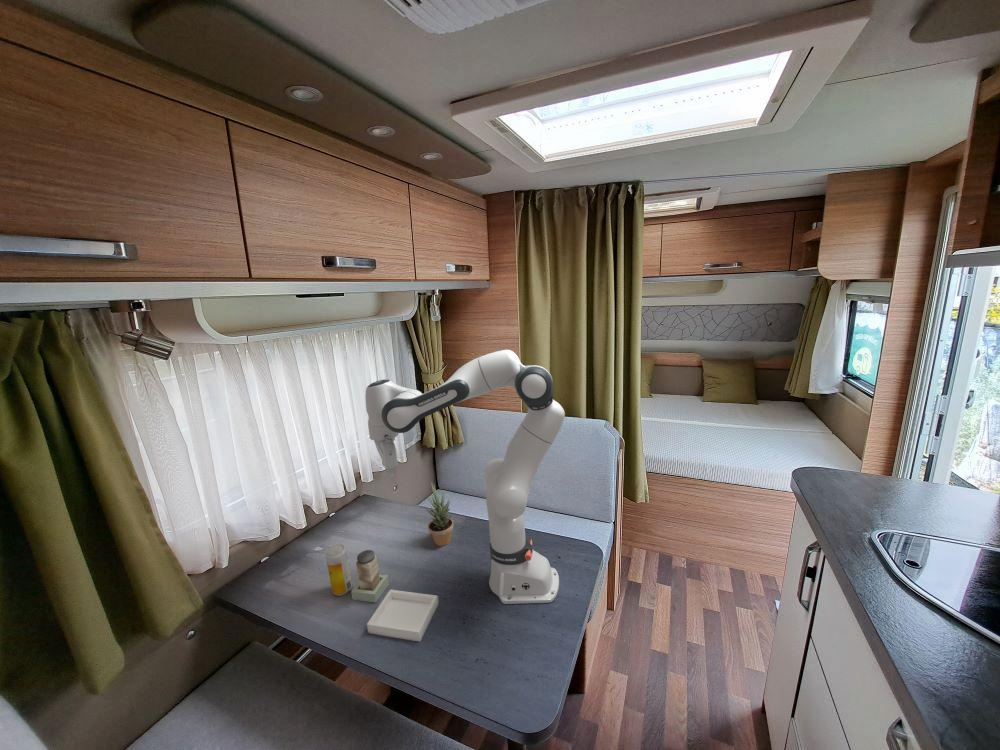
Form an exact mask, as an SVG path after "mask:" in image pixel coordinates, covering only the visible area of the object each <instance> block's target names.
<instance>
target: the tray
mask: <svg viewBox="0 0 1000 750" xmlns="http://www.w3.org/2000/svg"><path fill="white" fill-rule="evenodd" d="M382 599H383V600H382V601H381V602H380V604H379V606H378V607H377V608H376V610H375V611H374V612H373V615H372V616H371V618H370V619H369V621H368V622H367V623H366V627H367V633H368V634H371V635H377V636H384V637H389V638H395V639H396V638H397V639H401V640H406V641H407V640H408V641H416V642H422V640H423V637H424V635H425V634H426V632H427V629H428V627H429V624H430V622H432V621H431V620H432V619H433V617H434V614H435V613H436V610H437V609H438V606H439V605H440V604H439V596H438V595H436V594H435V595H434V594H427V593H421V592H412V591H403V590H398V589H389V590H388V592H387V593H386V595H385V596H384V598H382Z"/></svg>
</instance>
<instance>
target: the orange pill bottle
mask: <svg viewBox="0 0 1000 750" xmlns="http://www.w3.org/2000/svg"><path fill="white" fill-rule="evenodd" d="M347 552H348V551H347V548H346V547H345V545H344V544H339V543H338V544H334V545H332V546H330V547H329V548H327V550H326V553H325V561H326V566H327V571H328V575H329V582H330V586H331V592H332V594H333V595H335V596H338V597H339V596H340V597H342V596H344V595H346V594H348V593H349V592H350V591H351V589H352V586H353V582H352V577H351V576H352V575H351V570H350V565H349V559H348V553H347Z"/></svg>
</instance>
